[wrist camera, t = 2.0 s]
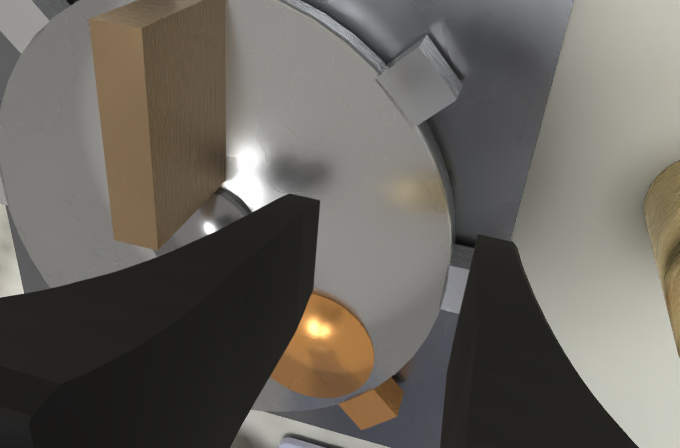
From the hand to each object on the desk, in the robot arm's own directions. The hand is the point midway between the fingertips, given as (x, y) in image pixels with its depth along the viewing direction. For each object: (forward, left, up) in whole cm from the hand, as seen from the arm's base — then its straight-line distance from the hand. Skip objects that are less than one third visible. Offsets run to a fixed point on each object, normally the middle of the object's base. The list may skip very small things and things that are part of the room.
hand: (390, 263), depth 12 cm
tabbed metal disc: (-5, +6, -7) cm, 11 cm away
